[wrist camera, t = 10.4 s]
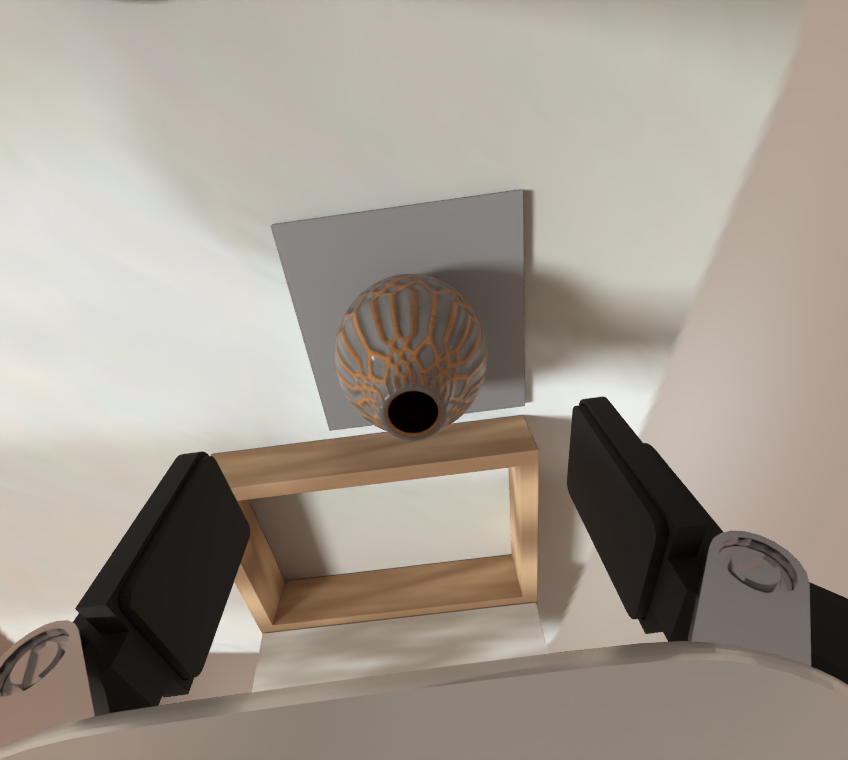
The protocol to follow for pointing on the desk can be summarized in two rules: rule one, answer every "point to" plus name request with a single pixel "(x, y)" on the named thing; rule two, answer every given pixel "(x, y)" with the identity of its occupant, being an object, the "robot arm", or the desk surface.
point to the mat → (411, 254)
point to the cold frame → (391, 588)
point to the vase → (411, 355)
